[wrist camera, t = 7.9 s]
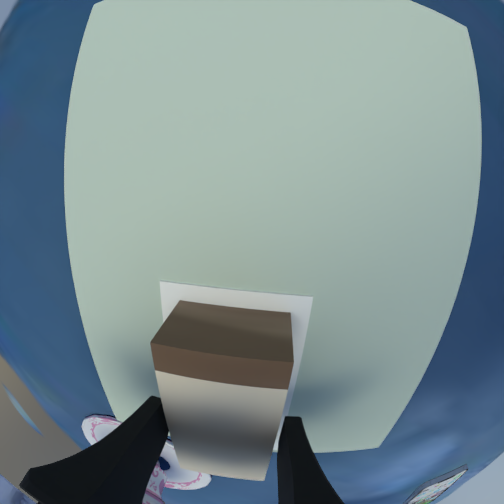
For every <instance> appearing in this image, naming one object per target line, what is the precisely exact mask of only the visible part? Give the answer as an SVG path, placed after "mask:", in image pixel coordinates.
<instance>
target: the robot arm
mask: <svg viewBox="0 0 504 504" xmlns="http://www.w3.org/2000/svg"><path fill="white" fill-rule="evenodd" d="M168 433H169V429H168V425H167V421H166V418H165V414H164V410H163V405H162V401H161V398H160V397H156V396H150V397H149V398H148V399H147V400H146V401H145V402H144V403H143V404H142V405H141V406H140V407H139V408H138V409H137V410H136V411H135V412H134V413H133V414H132V415H131V416H129V417H128V418H127V419H126V420H125V421H124V422H123V423H122V424H120V425H119V426H118V427H117V428H116V429H114V430H113V431H112V432H110V433H109V434H108V435H106V436H105V437H104V438H102V439H101V440H99V441H98V442H96V443H95V444H93V445H92V446H90V447H88V448H86V449H85V450H83V451H81V452H79V453H77V454H75V455H73V456H70V457H68V458H65V459H63V460H60V461H57V462H55V463H51V464H48V465H44V466H40V467H35V468H30V470H29V471H28V472H27V473H26V475H25V477H24V478H23V480H22V481H21V483H20V487H21V488H22V489H23V490H24V491H26V492H27V493H28V494H29V495H31V496H32V497H33V498H35V499H36V500H37V501H39V502H38V504H142V502H143V498H144V495H145V491H146V488H147V485H148V482H149V479H150V477H151V475H152V472H153V470H154V468H155V466H156V464H157V461H158V459H159V457H160V455H161V452H162V450H163V448H164V445H165V443H166V440H167V436H168ZM277 472H278V498H279V502H278V504H344V503H343V501H342V500H341V499H340V497H339V496H338V495H337V493H336V492H335V490H334V489H333V487H332V486H331V484H330V483H329V481H328V480H327V478H326V476H325V474H324V473H323V471H322V469H321V467H320V465H319V463H318V461H317V459H316V457H315V455H314V452H313V450H312V448H311V445H310V443H309V440H308V438H307V435H306V432H305V429H304V425H303V422H302V418H301V417H299V416H285V418H284V422H283V426H282V429H281V433H280V437H279V441H278V454H277ZM0 504H37V503H35V502H34V501H33V500H31V499H30V498H29V497H27V496H26V495H25V494H24V493H22V492H21V491H20V490H19V489H17V488H16V487H15V486H13V485H12V484H11V483H10V482H9V481H7V480H6V479H5V478H4V477H3V476H2V475H1V474H0Z"/></svg>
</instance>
